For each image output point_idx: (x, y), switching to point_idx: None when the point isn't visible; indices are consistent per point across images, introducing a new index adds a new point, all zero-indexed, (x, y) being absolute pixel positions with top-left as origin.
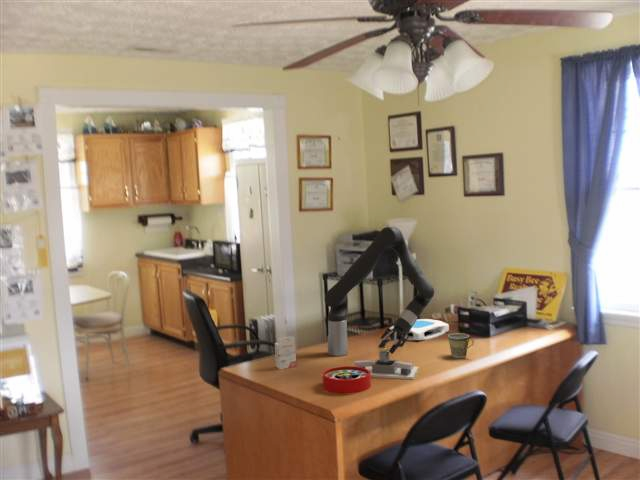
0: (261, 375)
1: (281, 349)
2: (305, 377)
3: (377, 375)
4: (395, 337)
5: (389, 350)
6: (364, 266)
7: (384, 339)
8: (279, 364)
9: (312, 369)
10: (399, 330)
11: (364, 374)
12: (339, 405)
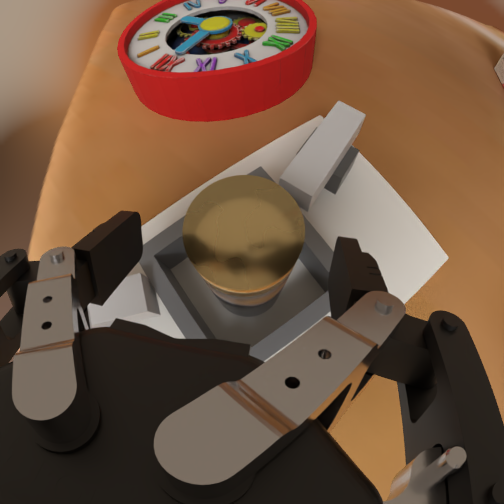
0: (456, 26)
1: None
2: (397, 44)
3: (204, 183)
4: (43, 298)
5: (129, 211)
6: None
7: (353, 307)
8: (500, 59)
9: (474, 105)
10: (4, 488)
11: (159, 62)
12: (124, 14)
